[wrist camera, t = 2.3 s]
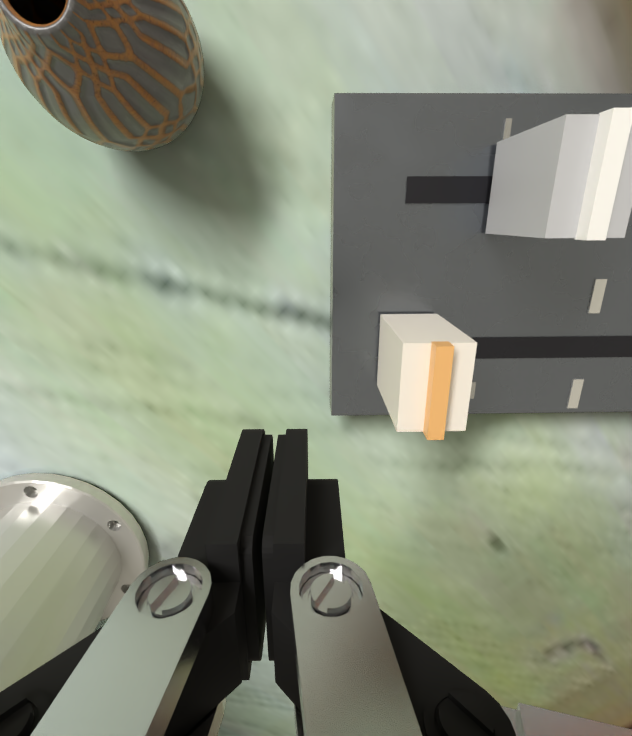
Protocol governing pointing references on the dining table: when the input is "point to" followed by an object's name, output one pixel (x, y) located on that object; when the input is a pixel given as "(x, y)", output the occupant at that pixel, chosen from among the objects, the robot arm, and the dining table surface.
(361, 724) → the robot arm
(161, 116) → the vase
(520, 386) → the console
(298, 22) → the dining table surface
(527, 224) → the grey fader
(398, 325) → the ivory fader
